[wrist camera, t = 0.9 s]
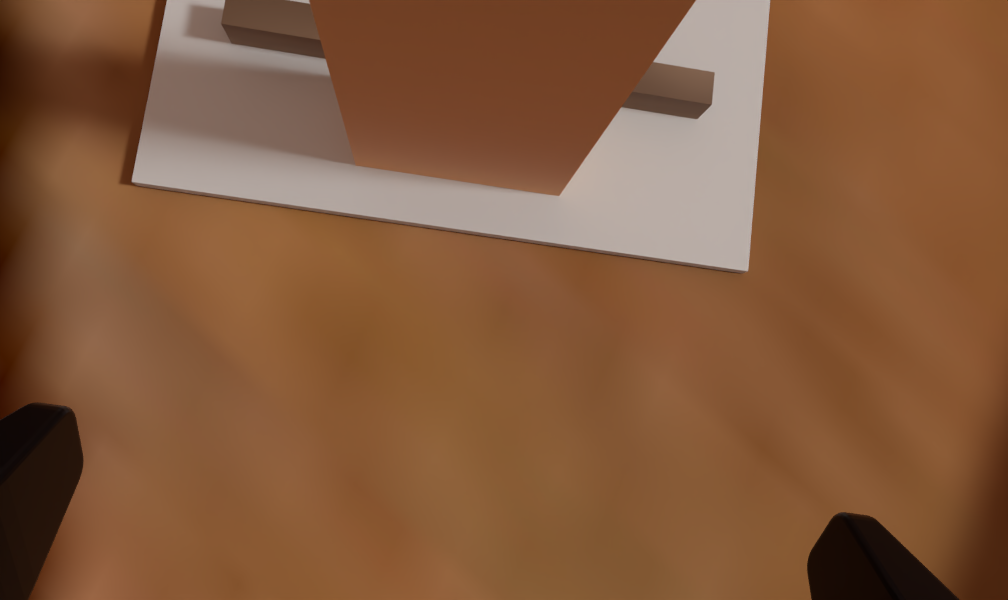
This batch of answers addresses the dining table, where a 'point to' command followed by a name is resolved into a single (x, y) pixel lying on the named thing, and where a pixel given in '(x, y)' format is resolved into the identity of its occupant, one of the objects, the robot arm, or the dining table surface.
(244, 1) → the long brown bar
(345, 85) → the orange block
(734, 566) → the dining table surface
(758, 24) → the mat
